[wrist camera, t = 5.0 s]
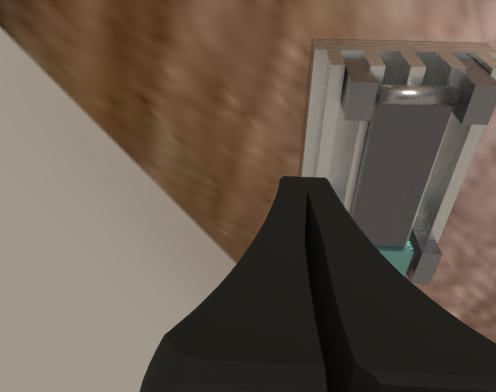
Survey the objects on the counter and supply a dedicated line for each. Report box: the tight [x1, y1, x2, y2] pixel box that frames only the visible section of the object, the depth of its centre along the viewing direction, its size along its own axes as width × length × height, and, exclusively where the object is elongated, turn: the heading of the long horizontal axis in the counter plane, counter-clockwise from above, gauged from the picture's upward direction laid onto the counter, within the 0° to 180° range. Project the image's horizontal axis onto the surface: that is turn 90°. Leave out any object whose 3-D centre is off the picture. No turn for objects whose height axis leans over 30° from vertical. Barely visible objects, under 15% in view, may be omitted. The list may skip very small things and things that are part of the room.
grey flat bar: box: [350, 85, 458, 277], centre depth 19 cm, size 11×4×1 cm, turn 0°
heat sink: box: [299, 39, 496, 285], centre depth 21 cm, size 13×8×5 cm, turn 0°
